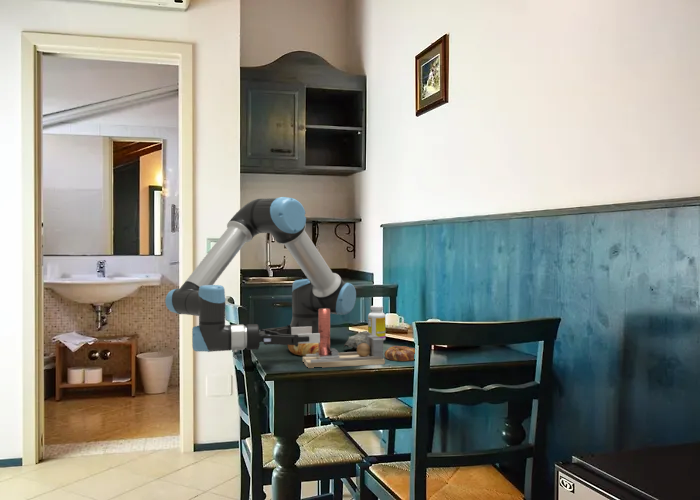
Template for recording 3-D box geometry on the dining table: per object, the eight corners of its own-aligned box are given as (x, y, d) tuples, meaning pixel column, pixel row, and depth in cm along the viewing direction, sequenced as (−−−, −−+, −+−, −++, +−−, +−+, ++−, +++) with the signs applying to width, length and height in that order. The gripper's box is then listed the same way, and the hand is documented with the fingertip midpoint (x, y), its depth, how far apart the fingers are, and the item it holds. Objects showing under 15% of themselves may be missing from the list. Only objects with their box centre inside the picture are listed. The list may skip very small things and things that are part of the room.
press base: (302, 361, 189) (302, 337, 189) (375, 357, 195) (375, 334, 194) (308, 368, 179) (308, 343, 179) (384, 364, 185) (384, 339, 185)
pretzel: (375, 357, 196) (375, 346, 196) (401, 354, 202) (401, 343, 202) (399, 364, 186) (399, 352, 186) (425, 359, 193) (425, 348, 193)
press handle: (315, 356, 188) (315, 307, 188) (334, 355, 190) (334, 307, 189) (320, 360, 181) (320, 310, 181) (339, 359, 183) (339, 310, 182)
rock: (354, 354, 200) (354, 335, 200) (337, 351, 206) (337, 332, 206) (383, 349, 209) (382, 331, 209) (366, 346, 215) (365, 328, 215)
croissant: (332, 368, 195) (341, 345, 198) (311, 357, 189) (321, 334, 191) (293, 356, 211) (302, 335, 213) (273, 346, 205) (282, 325, 207)
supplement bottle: (388, 339, 229) (388, 305, 229) (381, 342, 224) (381, 307, 223) (372, 337, 232) (372, 305, 232) (365, 340, 227) (365, 306, 226)
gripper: (242, 342, 191) (308, 339, 196) (248, 357, 167) (323, 354, 172) (242, 319, 191) (308, 316, 196) (248, 331, 167) (323, 328, 172)
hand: (315, 334), depth 184 cm, fingers open, 13 cm apart
